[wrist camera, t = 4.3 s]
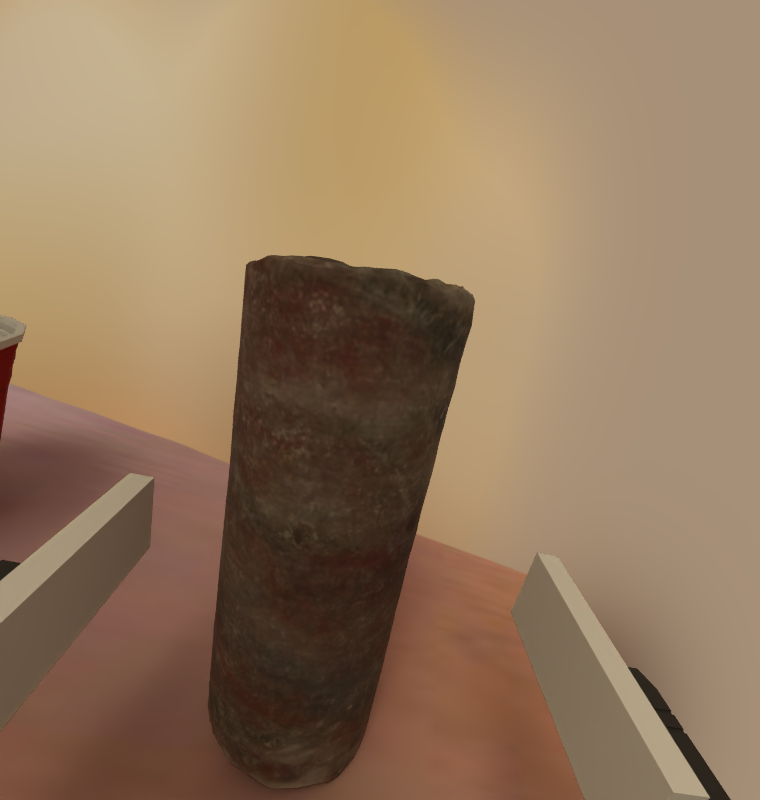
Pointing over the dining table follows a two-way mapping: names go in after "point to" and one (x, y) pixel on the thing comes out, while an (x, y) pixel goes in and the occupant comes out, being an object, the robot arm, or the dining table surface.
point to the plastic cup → (8, 355)
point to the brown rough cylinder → (323, 502)
